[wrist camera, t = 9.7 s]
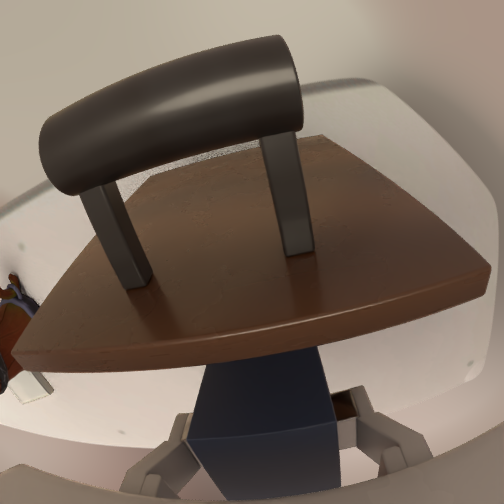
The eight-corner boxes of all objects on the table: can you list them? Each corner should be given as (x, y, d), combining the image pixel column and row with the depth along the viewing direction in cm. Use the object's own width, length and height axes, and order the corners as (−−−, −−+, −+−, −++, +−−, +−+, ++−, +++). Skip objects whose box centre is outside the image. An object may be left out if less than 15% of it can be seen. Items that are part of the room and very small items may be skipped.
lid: (485, 296, 5) (494, 20, 2) (25, 372, 6) (-77, 200, 3) (324, 145, 18) (308, 65, 16) (153, 186, 19) (129, 112, 17)
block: (315, 339, 11) (337, 421, 7) (325, 413, 12) (341, 487, 8) (207, 358, 12) (185, 439, 7) (235, 427, 13) (227, 501, 9)
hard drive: (18, 355, 34) (-5, 371, 36) (50, 395, 35) (22, 405, 37) (24, 349, 35) (0, 366, 37) (54, 389, 37) (26, 400, 39)
